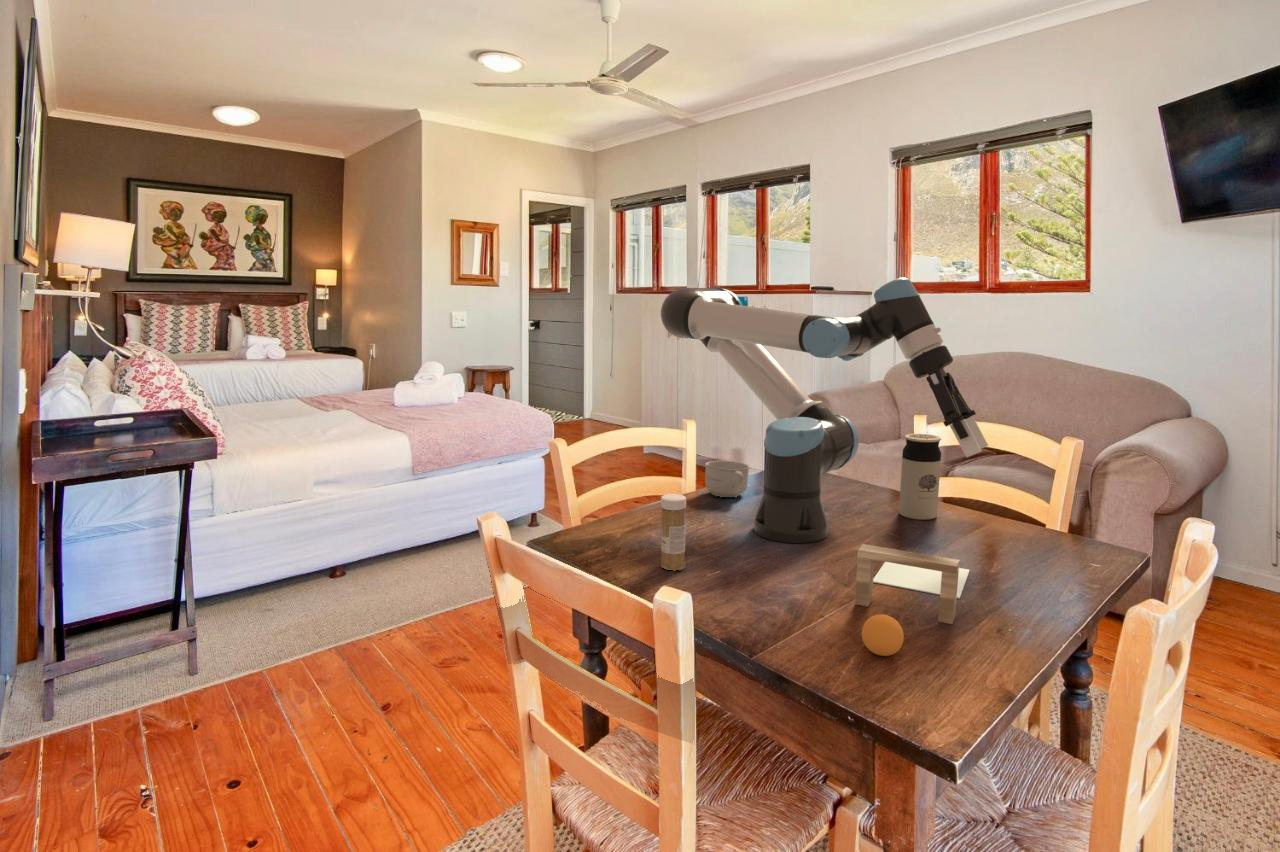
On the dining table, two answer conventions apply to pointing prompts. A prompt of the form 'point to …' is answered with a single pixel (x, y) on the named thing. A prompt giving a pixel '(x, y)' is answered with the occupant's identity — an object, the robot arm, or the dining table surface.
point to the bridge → (910, 559)
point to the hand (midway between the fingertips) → (978, 451)
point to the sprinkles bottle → (673, 531)
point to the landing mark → (916, 578)
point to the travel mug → (920, 477)
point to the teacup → (726, 478)
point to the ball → (882, 635)
